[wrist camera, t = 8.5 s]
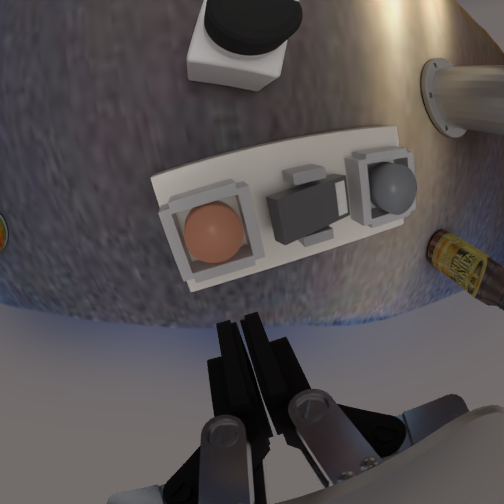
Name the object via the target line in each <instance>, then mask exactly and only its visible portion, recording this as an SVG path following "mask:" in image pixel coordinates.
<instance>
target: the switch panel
mask: <svg viewBox="0 0 504 504" xmlns="http://www.w3.org/2000/svg"><path fill="white" fill-rule="evenodd" d="M381 162H390V163H395V164H399V165H404V166H406V167H408V168H409V169H410V170H411V171H412V172H413V174H414V176H415V167H414V155H413V151H407V148H404V147H399V139H398V132H397V126H383V125H380V126H369V127H360V128H351V129H343V130H336V131H329V132H322V133H316V134H310V135H304V136H298V137H293V138H287V139H282V140H277V141H272V142H268V143H263V144H259V145H254V146H250V147H246V148H241V149H237V150H233V151H229V152H226V153H222V154H218V155H214V156H211V157H207V158H204V159H200V160H197V161H193V162H190V163H187V164H183V165H180V166H177V167H174V168H171V169H168V170H165V171H162V172H159V173H156V174H154V175H153V176H152V177H150V178H151V182H152V185H153V188H154V191H155V194H156V198H157V201H158V204H159V207H160V209H159V212H158V214H159V217H160V220H161V222H162V225H163V228H164V231H165V234H166V237H167V239H168V242H169V245H170V248H171V250H172V253H173V256H174V258H175V261H176V263H177V266H178V269H179V271H180V274H181V276H182V279H183V281H187V283H188V286H189V288H190V291H191V292H194V291H197V290H201V289H204V288H207V287H211V286H214V285H217V284H221V283H224V282H227V281H231V280H234V279H237V278H240V277H244V276H247V275H250V274H253V273H257V272H260V271H263V270H266V269H270V268H273V267H276V266H279V265H282V264H285V263H289V262H292V261H295V260H298V259H301V258H304V257H307V256H310V255H314V254H317V253H320V252H323V251H326V250H329V249H332V248H335V247H338V246H341V245H344V244H347V243H350V242H353V241H356V240H359V239H362V238H365V237H368V236H371V235H374V234H377V233H380V232H383V231H386V230H388V229H391V228H394V227H397V226H400V225H403V224H404V218H405V217H408V216H410V211H413V210H416V197H415V200H414V202H413V204H412V206H411V207H410V208H409V209H408V210H407V211H406V212H405V213H403V214H400V215H394V214H391V213H389V212H387V211H384V210H382V209H380V208H378V207H376V206H374V205H373V204H372V203H371V201H370V189H369V178H368V176H369V173H370V171H371V170H372V169H373V167H374V166H376V165H377V164H379V163H381ZM332 174H340V175H346V180H347V188H348V197H349V207H350V215H349V216H347V217H345V218H343V219H341V220H338V221H336V222H334V223H332V224H330V225H328V226H326V227H324V228H322V229H320V230H317V231H315V232H313V233H311V234H309V235H307V236H305V237H303V238H300V239H298V240H296V241H294V242H292V243H290V244H288V245H283V244H281V243H279V242H277V241H275V238H274V233H273V228H272V223H271V219H270V214H269V209H268V205H267V200H266V197H267V196H270V195H273V194H276V193H278V192H281V191H284V190H287V189H290V188H293V187H296V186H299V185H302V184H305V183H308V182H311V181H315V180H320V179H324V178H326V176H329V175H332ZM217 200H218V201H222V202H224V203H226V204H228V205H229V206H230V207H231V208H232V209H233V210H234V211H235V213H236V214H237V216H238V218H239V219H240V221H241V223H242V226H243V231H244V237H243V242H242V245H241V247H240V248H239V250H238V251H237V252H236V254H235V255H233V256H232V257H231V258H229V259H228V260H226V261H223V262H219V263H207V262H203V261H200V260H198V259H197V258H195V257H194V256H193V255H192V254H191V253H190V252H189V251H188V249H187V247H186V245H185V241H184V227H185V220H186V217H187V215H188V213H189V212H190V210H191V209H192V208H193V207H197V206H200V205H203V204H207V203H210V202H213V201H217Z"/></svg>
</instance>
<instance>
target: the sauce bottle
mask: <svg viewBox="0 0 504 504" xmlns="http://www.w3.org/2000/svg"><path fill="white" fill-rule="evenodd" d="M428 260H429V261H430V262H431V263H432V264H433V266H434V267H435V268H437V269H438V270H439V271H441V272H442V273H443V274H445V275H446V276H448V277H449V278H450V279H452V280H453V281H454V282H456V283H457V284H458V285H459V286H461V287H462V288H463V289H464V290H466V291H467V292H468V293H469V294H471V295H472V296H473V297H475V298H476V299H478V300H480V301H481V302H483V303H485V304H487V305H494V306H498V307H499V308H500V309H503V310H504V268H503V267H502V266H501V265H500V264H499V263H497V262H495V261H494V260H493V259H492V258H491V257H490V256H488V255H486V254H485V253H483V252H482V251H480V250H478V249H477V248H475V247H474V246H472V245H471V244H469V243H467V242H466V241H464V240H462V239H461V238H459V237H457V236H455V235H454V234H452V233H448V232H447V231H444V230H442V231H439V232H437V233H436V234H435V235H434V237H433V238H432V240H431V241H430V244H429V247H428Z"/></svg>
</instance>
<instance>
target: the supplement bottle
mask: <svg viewBox="0 0 504 504" xmlns="http://www.w3.org/2000/svg"><path fill="white" fill-rule="evenodd" d="M7 239H8V230H7V225H6V222H5V220H4V218H3V217H2V215H1V214H0V251H1V250H2V249H3V248H4V247H5V245H6V243H7Z"/></svg>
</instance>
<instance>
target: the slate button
mask: <svg viewBox="0 0 504 504" xmlns="http://www.w3.org/2000/svg"><path fill="white" fill-rule="evenodd" d="M368 178H369V189H370V201H371V203H372V204H373V205H374V206H376V207H378V208H380V209H382V210H384V211H387V212H389V213H391V214H394V215H400V214H403V213H405V212H406V211H407V210H408V209H409V208H410V207H411V206H412V204H413V202H414V200H415V197H416V192H417V183H416V178H415V176H414V174H413V172H412V171H411V170H410V169H409V168H408V167H406V166H404V165H399V164H395V163H390V162H381V163H379V164H377V165H376V166H374V167H373V169H372V170H371V171H370V173H369V176H368Z"/></svg>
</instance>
